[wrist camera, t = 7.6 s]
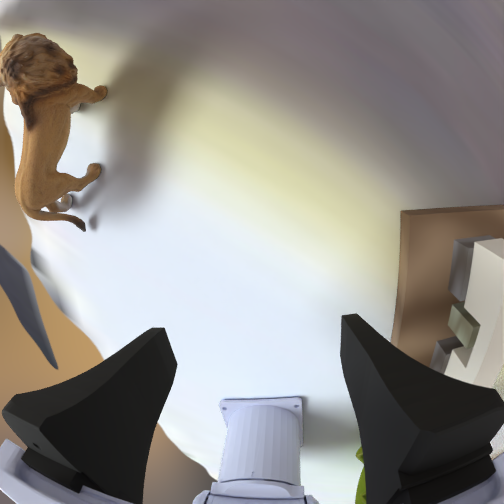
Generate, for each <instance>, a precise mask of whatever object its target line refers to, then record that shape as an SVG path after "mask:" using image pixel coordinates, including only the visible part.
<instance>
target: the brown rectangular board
mask: <svg viewBox="0 0 504 504" xmlns="http://www.w3.org/2000/svg"><path fill="white" fill-rule="evenodd" d="M499 238H502V239H504V205H489V206H468V207H450V208H434V209H419V210H405V211H401V233H400V261H399V276H398V288H397V299H396V308H395V316H394V323H393V331H392V337H391V344H393V345H394V346H395V347H397V348H398V349H400V350H401V351H402V352H404V353H405V354H407V355H408V356H410V357H411V358H413V359H415V360H416V361H418V362H420V363H422V364H423V365H425V366H427V367H429V368H431V369H433V370H435V371H438V372H440V373H442V374H444V373H445V371H446V368H447V365H448V362H449V359H450V356H451V353H452V350H453V349H456V348H459V347H462V346H464V347H465V348H466V349H469V348H472V347H474V345H475V342H476V339H477V335H478V332H479V329H480V326H481V325H480V324H479V323H478V321H477V320H476V319H475V318H474V317H473V316H472V315H471V314H470V313H469V312H468V311H467V310H466V309H465V308H464V304H465V300H466V295H467V290H468V284H469V279H470V273H471V266H472V259H473V251H474V242H477V241H484V240H491V239H499Z"/></svg>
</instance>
